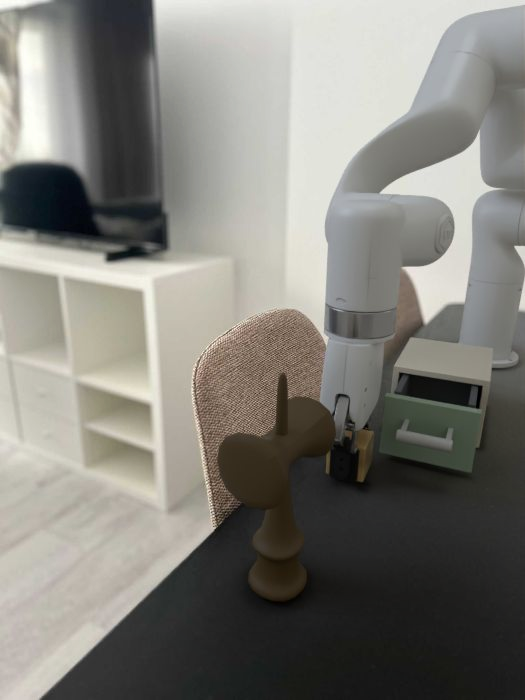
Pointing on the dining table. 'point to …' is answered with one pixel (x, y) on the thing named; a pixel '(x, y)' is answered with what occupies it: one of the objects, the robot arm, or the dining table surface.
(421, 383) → the green drawer
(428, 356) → the small drawer cabinet
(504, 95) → the robot arm
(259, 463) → the kendama
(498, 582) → the dining table surface
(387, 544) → the dining table surface
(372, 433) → the block
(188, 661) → the dining table surface
